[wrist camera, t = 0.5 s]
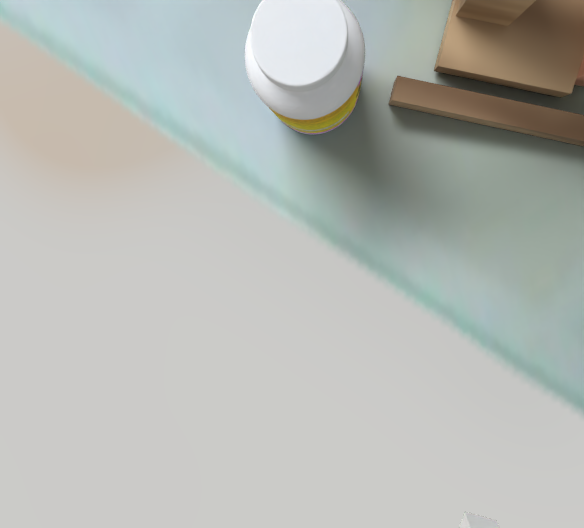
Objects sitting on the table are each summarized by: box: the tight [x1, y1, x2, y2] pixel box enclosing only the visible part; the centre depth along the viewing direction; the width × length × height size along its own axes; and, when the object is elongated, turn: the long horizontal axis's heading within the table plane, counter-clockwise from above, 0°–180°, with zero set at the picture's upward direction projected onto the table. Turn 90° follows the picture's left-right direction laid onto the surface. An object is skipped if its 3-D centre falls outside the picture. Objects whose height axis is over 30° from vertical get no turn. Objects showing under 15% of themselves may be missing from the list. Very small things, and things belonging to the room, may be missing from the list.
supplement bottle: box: [245, 0, 365, 134], centre depth 28 cm, size 7×7×13 cm
